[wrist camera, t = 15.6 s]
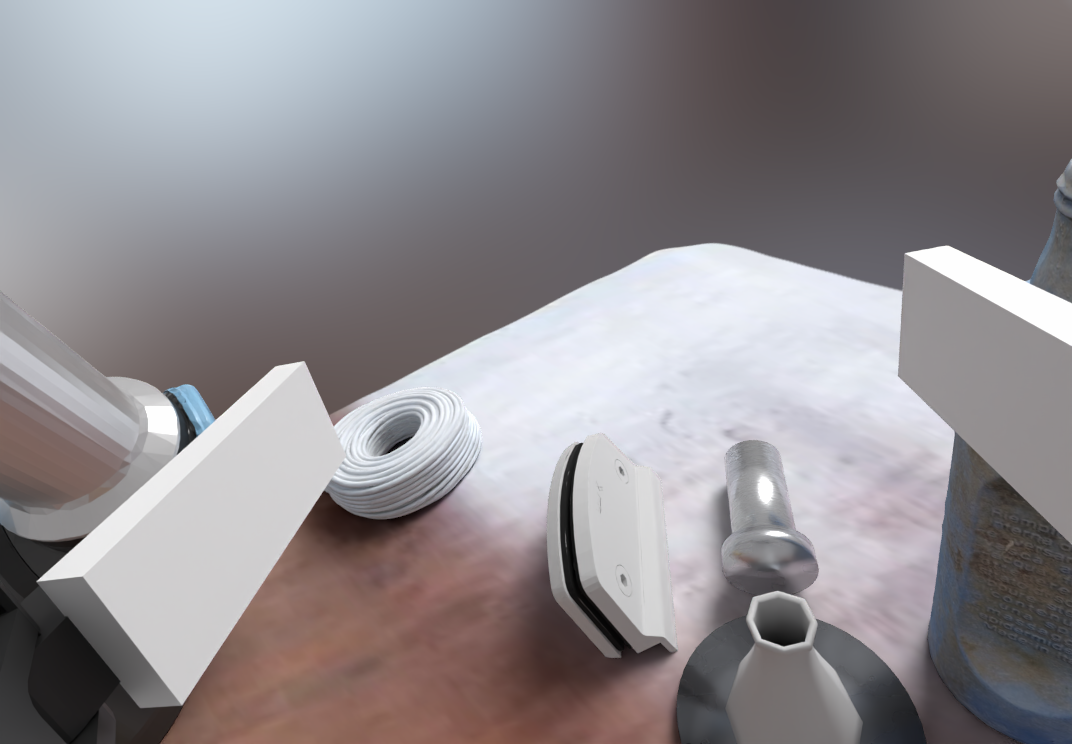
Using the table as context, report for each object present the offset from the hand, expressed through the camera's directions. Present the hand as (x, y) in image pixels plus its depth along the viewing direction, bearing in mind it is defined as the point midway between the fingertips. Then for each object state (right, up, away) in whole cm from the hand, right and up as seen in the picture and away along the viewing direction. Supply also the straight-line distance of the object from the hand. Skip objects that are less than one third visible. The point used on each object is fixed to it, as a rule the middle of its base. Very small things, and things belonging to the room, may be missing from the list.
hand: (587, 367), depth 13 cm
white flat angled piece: (+6, -15, +34) cm, 38 cm away
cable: (-15, -11, +52) cm, 55 cm away
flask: (+14, -20, +20) cm, 32 cm away
